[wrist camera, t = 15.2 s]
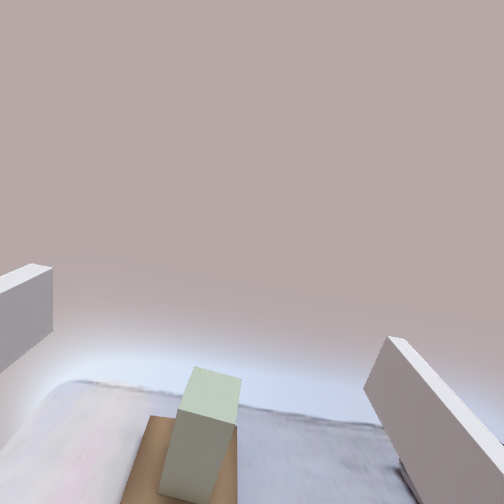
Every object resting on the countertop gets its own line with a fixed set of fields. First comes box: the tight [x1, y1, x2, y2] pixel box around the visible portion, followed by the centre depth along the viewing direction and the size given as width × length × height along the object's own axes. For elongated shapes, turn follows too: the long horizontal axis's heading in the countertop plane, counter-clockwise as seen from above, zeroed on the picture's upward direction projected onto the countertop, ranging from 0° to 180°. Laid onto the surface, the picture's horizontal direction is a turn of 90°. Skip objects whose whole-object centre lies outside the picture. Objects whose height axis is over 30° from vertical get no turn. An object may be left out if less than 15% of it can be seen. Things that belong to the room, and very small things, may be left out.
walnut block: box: [120, 415, 237, 504], centre depth 28 cm, size 11×11×4 cm
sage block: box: [157, 367, 241, 504], centre depth 26 cm, size 5×5×11 cm
